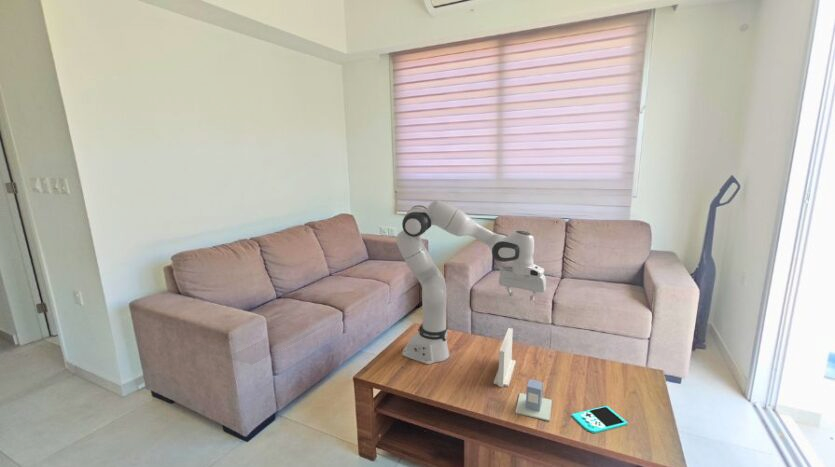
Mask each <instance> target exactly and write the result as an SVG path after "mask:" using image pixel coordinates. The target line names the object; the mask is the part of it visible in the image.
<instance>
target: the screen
mask: <svg viewBox="0 0 835 467" xmlns="http://www.w3.org/2000/svg"><path fill="white" fill-rule="evenodd" d="M513 333H514V328H511V327H508V329H507V331H506V333H505V336H504V338H503V341H502V343H501V345H500V348H499V350H498V351H499V353H498V354H499V355H498V369H497V371H496V375H495V378H494V380H493V384H494V385H497V386H498V387H499V388H500V387H501V388H504V387H507V388H509V386H510V384H511V379H512V376H513V372H514V369H515V366H516V359H513V357H512V356H513V335H514V334H513Z"/></svg>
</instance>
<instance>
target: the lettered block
mask: <svg viewBox="0 0 835 467" xmlns="http://www.w3.org/2000/svg"><path fill="white" fill-rule="evenodd" d="M543 388H544V382H543V381H540V380H535V379H531V378H529V379H528V382H527V385H526V393H525V394H526V408H529V409H532V410H536V411H539V412H540V408H541V405H542V398H543V391H544V390H543Z"/></svg>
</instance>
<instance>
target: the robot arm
mask: <svg viewBox="0 0 835 467" xmlns="http://www.w3.org/2000/svg"><path fill="white" fill-rule="evenodd" d="M401 225H402V230H400V231H399V233H398V234H396V238H395V241H396V244H397V245H396V246H397V247H398V249H399V252H400V254H401V256H402V258H403V260H404V262H405V263H406V265H407V266H408V269H409V270H410V272H411V274H413V275H414V277H415V278H416V279H417V280H418V282H419V284H420V286H421V289H422V290H421V302H422V303H421V304H422V307H421V308H422V322H421V324H420V326H419V327H418V328H417V333H415V334H413V335H412V336H411V337H410V338H409V340H408V342H407V344H406V345H405V347H404V348H403V350H402V356H403V357H406V358H408V359H412V360H414V361H417V362H419V363H423V364H424V365H425V364H426V365H431V364H434V363H440V362H444V361H446V360H447V359H448V358H449V357H450V351H449V347H448V340H447V339H448V326H447V300H448V299H447V298H448V296H447V295H448V294H447V293H448V291H447V284H446V279H445V277H444V275H443V274H442V271H441V270H440V269H439V267H438V266H437V265H436V263H435V262H434V260H433V258H432V256H431V255H430V254H429V251H428V249H427V248H426V246H425V244H424V242H423V241H422V238H421V235H423V234H425V232H427V231H428V230H429V229H430V228H431V227H432V226H437V227H438V228H440V229H441V230H443V231H445V232H446V233H449V234H451V235H452V236H456V237H463V236H467V237H468V236H469V237H472V238H474V239H476V240H478V241H480V242H481V243H483V244H486V245H487V247H489V249H490V250H491V254H492V257H493V258H494V259H495V260H496V261H498V262H502V263H504V262H512V263H511V264H512V265H505V264H503V265H501V266H499V279H498V284H499V286H502V287H505V288H506V291H507V292H508V297H514V291H512V290H511V288H512V289H519V290H523V291H524V290H525V291H529V292H532V295H530V296H529V301H532V302H534V300H535V296H536V294H537V293H542V294H543V293H544V292H545V291H547V278H546V276H545V269H544V268H543V267H541V266H539V265H537V264H536V263H534V253H535V238H534V236H533V234H531V233H530V232H528V231H524V230H516V231H515V232H514V233H512V234H510V235H507V234H505V233H501V232H494V231H492V230H490V229H488V228H486V227H485V226H483V225H480V224H479V223H477V222H476V221H475V220H473V218H471V217H470V216H469V215H468V214H466V212H464V211H462V210H461V209H459V208H457V207H456V206H454V205H452V204H450V203H448V202H445V201H442V200H440V199H439V200H437V199H436V200H434V201H432V202H431V203H429V205H428V207H426V206H424V205H421V204H420V205H414V206H413V207H411V208H410V209H409V210H408V211H407V212H406V214H405V216H403V218H402V224H401Z"/></svg>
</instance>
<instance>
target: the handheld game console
mask: <svg viewBox="0 0 835 467" xmlns="http://www.w3.org/2000/svg"><path fill="white" fill-rule="evenodd" d="M571 417H572V418H573V419H574V421H576V422H577V423H578V424H580V426H581V427H582V428H583V429H585V430H586V431H588V432H589V433H592V434H597V433H602V432H606V431H608V430H609V431H610V430H613V429H617V428H620V427H624V426H627V425H628V424H629V422H628V421H627V420H625V419H624V418H623V417H622V416H620V415H619V414H618V413H616V412H615V410H613V409H612V408H610V407H609V405H604V406H601V407H597V408H592V409H588V410H583V411H579V412H575V413H572V414H571Z"/></svg>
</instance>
